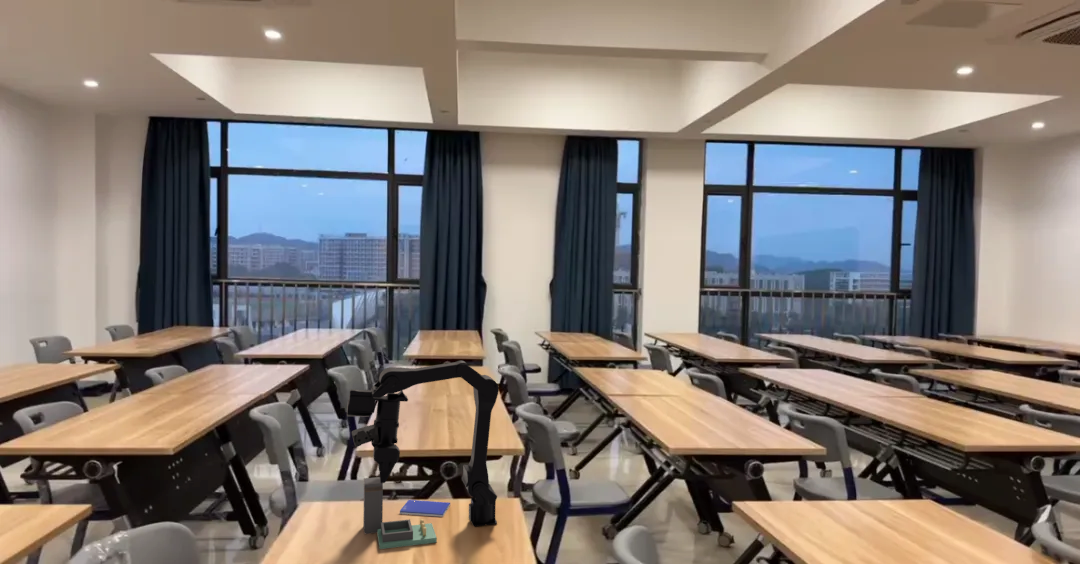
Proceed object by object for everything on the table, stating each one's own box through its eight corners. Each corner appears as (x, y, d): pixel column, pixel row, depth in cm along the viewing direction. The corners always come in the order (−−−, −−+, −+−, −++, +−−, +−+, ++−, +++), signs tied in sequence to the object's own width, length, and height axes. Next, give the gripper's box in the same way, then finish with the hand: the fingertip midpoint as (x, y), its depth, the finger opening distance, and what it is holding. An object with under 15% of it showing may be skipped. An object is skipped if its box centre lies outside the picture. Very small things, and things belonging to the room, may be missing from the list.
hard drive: (399, 510, 178) (443, 513, 176) (408, 499, 186) (450, 501, 184) (399, 516, 178) (442, 519, 176) (408, 504, 186) (450, 507, 184)
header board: (431, 527, 169) (431, 515, 169) (436, 542, 161) (436, 529, 160) (377, 533, 165) (377, 521, 165) (379, 549, 156) (379, 536, 156)
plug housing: (381, 524, 170) (381, 476, 170) (382, 532, 166) (382, 482, 165) (363, 526, 169) (363, 478, 168) (364, 534, 165) (364, 484, 164)
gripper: (354, 407, 172) (349, 464, 172) (355, 425, 154) (349, 489, 154) (396, 408, 175) (391, 465, 175) (402, 427, 157) (396, 489, 157)
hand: (381, 476), depth 165 cm, fingers open, 9 cm apart
